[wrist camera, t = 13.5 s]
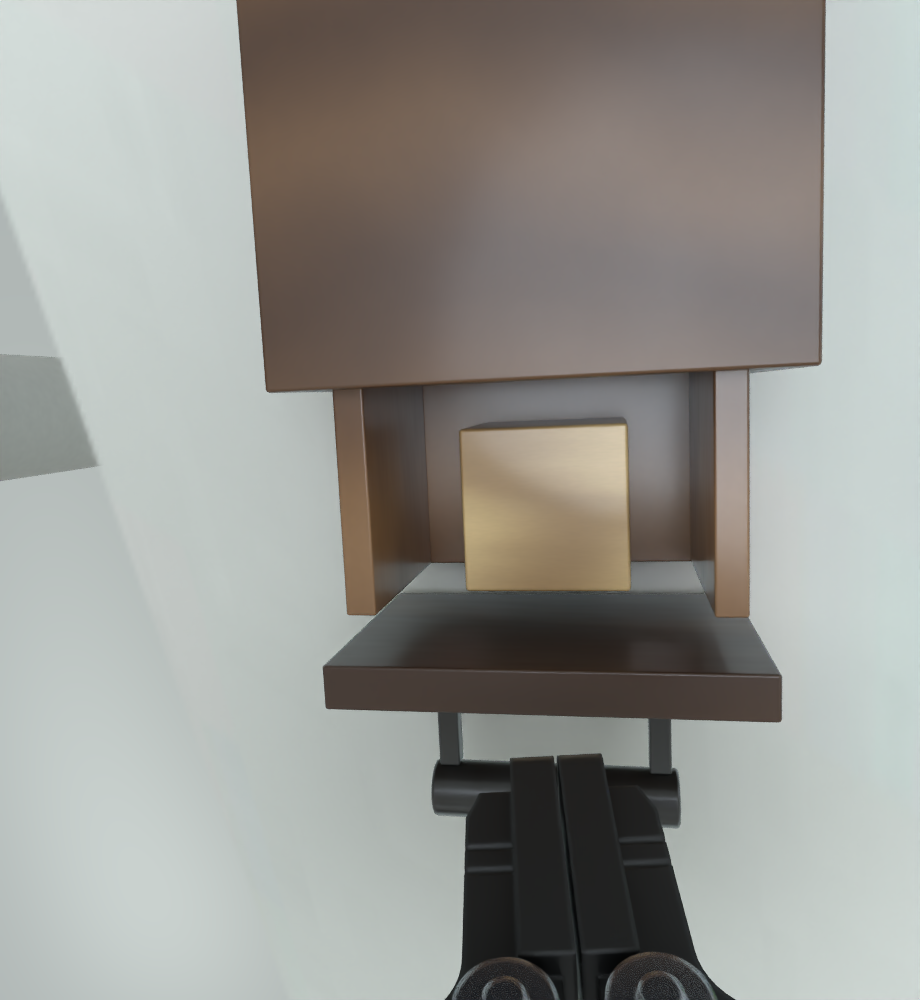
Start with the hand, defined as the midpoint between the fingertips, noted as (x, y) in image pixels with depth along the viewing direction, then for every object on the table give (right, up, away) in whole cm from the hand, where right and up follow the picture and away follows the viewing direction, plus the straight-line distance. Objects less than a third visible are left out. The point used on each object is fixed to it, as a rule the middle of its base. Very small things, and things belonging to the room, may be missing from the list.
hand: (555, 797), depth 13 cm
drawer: (+2, +5, +14) cm, 15 cm away
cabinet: (+1, +16, +14) cm, 21 cm away
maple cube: (+1, +7, +10) cm, 13 cm away
